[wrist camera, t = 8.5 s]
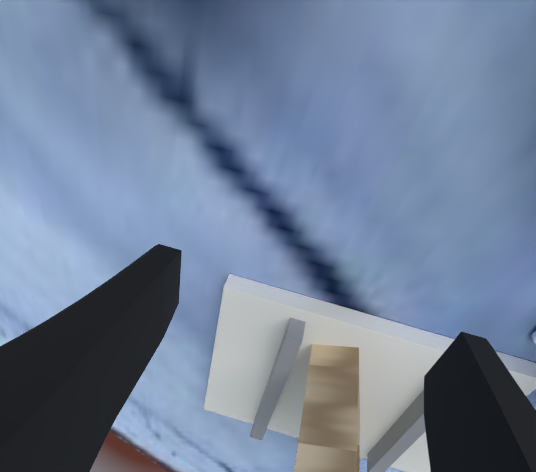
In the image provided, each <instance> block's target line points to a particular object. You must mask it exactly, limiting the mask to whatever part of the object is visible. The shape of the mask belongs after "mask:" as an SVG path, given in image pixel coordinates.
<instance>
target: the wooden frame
mask: <svg viewBox="0 0 536 472" xmlns="http://www.w3.org/2000/svg"><path fill="white" fill-rule="evenodd" d="M359 461H360V397H359V348H358V347H345V346H332V345H319V344H312V348H311V355H310V362H309V369H308V376H307V383H306V390H305V397H304V404H303V411H302V418H301V425H300V432H299V439H298V446H297V453H296V460H295V467H294V472H359Z"/></svg>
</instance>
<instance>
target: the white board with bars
mask: <svg viewBox="0 0 536 472" xmlns="http://www.w3.org/2000/svg"><path fill="white" fill-rule="evenodd" d="M454 340H455V339H452V338H449V337H445V336H442V335H438V334H435V333H431V332H428V331H425V330H421V329H418V328H414V327H411V326H407V325H404V324H401V323H397V322H394V321H390V320H387V319H383V318H380V317H376V316H373V315H370V314H366V313H363V312H359V311H356V310H352V309H349V308H346V307H342V306H339V305H335V304H332V303H328V302H325V301H321V300H318V299H315V298H311V297H308V296H304V295H301V294H297V293H294V292H291V291H287V290H284V289H280V288H277V287H273V286H270V285H266V284H263V283H260V282H256V281H253V280H249V279H246V278H242V277H239V276H236V275H232V274H229V276H228V278H227V281H226V283H225V285H224V289H223V295H222V301H221V307H220V313H219V319H218V325H217V331H216V337H215V343H214V349H213V355H212V361H211V368H210V374H209V380H208V386H207V392H206V398H205V404H204V409H205V410H208V411H211V412H214V413H218V414H221V415H224V416H227V417H231V418H234V419H237V420H240V421H243V422H247V423H250V424H253V427H252V431H251V435H250V437H253V438H256V439H259V440H262V438H263V436H264V433H265V431H266V429H269V430H272V431H276V432H279V433H282V434H285V435H289V436H292V437H295V438H298V439H299V432H300V425H301V418H302V411H303V404H304V397H305V390H306V383H307V376H308V369H309V362H310V355H311V348H312V344H319V345H332V346H345V347H358V348H359V397H360V458H363V459H366V460H367V472H385V471H386V470H387V469H388V468H389V467H392V468H395V469H398V470H401V471H405V472H431V469H430V462H429V454H428V446H427V438H426V430H425V421H424V376H425V375H426V373H427V372H428V371H429V370H430V369H431V367H432V366H433V365H434V364H435V363H436V361H437V360H438V359H439V358H440V357H441V355H442V354H443V353H444V352H445V351H446V350H447V348H448V347H449V346H450V345H451V344H452V342H453V341H454ZM495 352H496V353H497V355H498V356H499V358H500V359H501V360H502V362H503V363H504V365H505V366H506V368H507V369H508V371H509V372H510V374H511V375H512V377H513V378H514V380H515V381H516V383H517V384H518V385H519V387H520V388H521V390H522V391H523V393H524V394H525V396H528V395H529V394H530V393H531V392H533V391H534V390H535V389H536V363H535V362H531V361H528V360H524V359H521V358H517V357H514V356H511V355H507V354H504V353H500V352H497V351H495Z"/></svg>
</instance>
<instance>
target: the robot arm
mask: <svg viewBox="0 0 536 472" xmlns="http://www.w3.org/2000/svg"><path fill="white" fill-rule="evenodd" d="M180 269H181V250H178V249H174V248H171V247H167V246H164V245H160V244H158V245H156V246H154V247H153V248H152V249H150V250H149V251H148V252H146V253H145V254H144V255H142V256H141V257H140V258H138V259H137V260H136V261H134V262H133V263H132V264H130V265H129V266H128V267H126V268H125V269H123V270H122V271H121V272H119V273H118V274H116V275H115V276H114V277H112V278H111V279H109V280H108V281H107V282H105V283H104V284H102V285H101V286H99V287H98V288H96V289H95V290H93V291H92V292H90V293H89V294H88V295H86V296H85V297H83V298H82V299H80V300H79V301H77V302H75V303H74V304H72V305H71V306H69V307H67V308H66V309H64V310H63V311H61V312H59V313H58V314H56V315H54V316H53V317H51V318H50V319H48V320H46V321H45V322H43V323H41V324H40V325H38V326H36V327H35V328H33V329H31V330H29V331H28V332H26V333H24V334H22V335H20V336H19V337H17V338H15V339H13V340H11V341H9V342H8V343H6V344H4V345H2V346H0V472H89V471H90V469H91V467H92V465H93V463H94V461H95V459H96V457H97V455H98V452H99V450H100V448H101V446H102V444H103V442H104V440H105V438H106V436H107V434H108V432H109V430H110V428H111V426H112V425H113V423H114V421H115V419H116V417H117V415H118V414H119V412H120V410H121V409H122V407H123V405H124V404H125V402H126V400H127V398H128V397H129V395H130V393H131V392H132V390H133V388H134V387H135V385H136V383H137V382H138V380H139V378H140V376H141V375H142V373H143V371H144V370H145V368H146V366H147V365H148V363H149V361H150V360H151V358H152V356H153V354H154V353H155V351H156V349H157V348H158V346H159V344H160V342H161V341H162V339H163V337H164V335H165V333H166V330H167V328H168V326H169V324H170V322H171V319H172V317H173V315H174V312H175V310H176V308H177V306H178V303H179V286H180ZM532 340H533V342H534V343H535V344H536V331H535V332H534V333H533V334H532ZM424 421H425V430H426V438H427V446H428V454H429V462H430V469H431V472H536V410H535V409H534V408H533V406H532V405H531V403H530V402H529V400H528V399H527V397H526V396H525V394H524V393H523V391H522V390H521V388H520V387H519V385H518V384H517V383H516V381H515V380H514V378H513V377H512V375H511V374H510V372H509V371H508V369H507V368H506V366H505V365H504V363H503V362H502V360H501V359H500V358H499V356H498V355H497V353H496V352H495V350H494V349H493V347H492V346H491V345H490V343H489V342H488V341H487V339H485V338H482V337H478V336H475V335H471V334H468V333H464V332H461V333H460V334H459V335H458V336H457V338H456V339H455V340H454V341H453V342H452V344H451V345H450V346H449V347H448V348H447V350H446V351H445V352H444V353H443V354H442V355H441V357H440V358H439V359H438V360H437V361H436V363H435V364H434V365H433V366H432V367H431V369H430V370H429V371H428V372H427V373H426V375H425V376H424Z"/></svg>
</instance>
